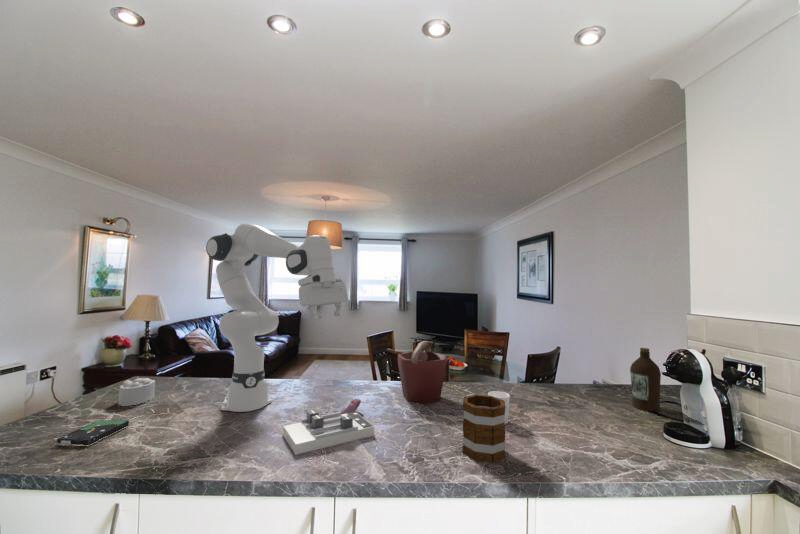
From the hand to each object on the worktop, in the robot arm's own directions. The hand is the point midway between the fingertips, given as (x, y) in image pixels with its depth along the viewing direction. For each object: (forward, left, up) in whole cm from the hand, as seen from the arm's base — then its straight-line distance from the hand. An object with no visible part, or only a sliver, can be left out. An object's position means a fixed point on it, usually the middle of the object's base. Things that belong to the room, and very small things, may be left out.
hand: (328, 317), depth 120 cm
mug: (+37, +37, -39) cm, 65 cm away
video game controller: (-7, +13, -39) cm, 41 cm away
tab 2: (+11, +3, -35) cm, 37 cm away
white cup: (+26, +58, -39) cm, 75 cm away
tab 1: (+1, -5, -35) cm, 35 cm away
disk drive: (-31, -66, -39) cm, 82 cm away
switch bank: (+6, -1, -38) cm, 39 cm away
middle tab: (+6, -5, -35) cm, 36 cm away
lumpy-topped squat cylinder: (-64, -59, -39) cm, 95 cm away
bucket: (-9, +49, -39) cm, 63 cm away
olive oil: (+47, +125, -39) cm, 139 cm away
